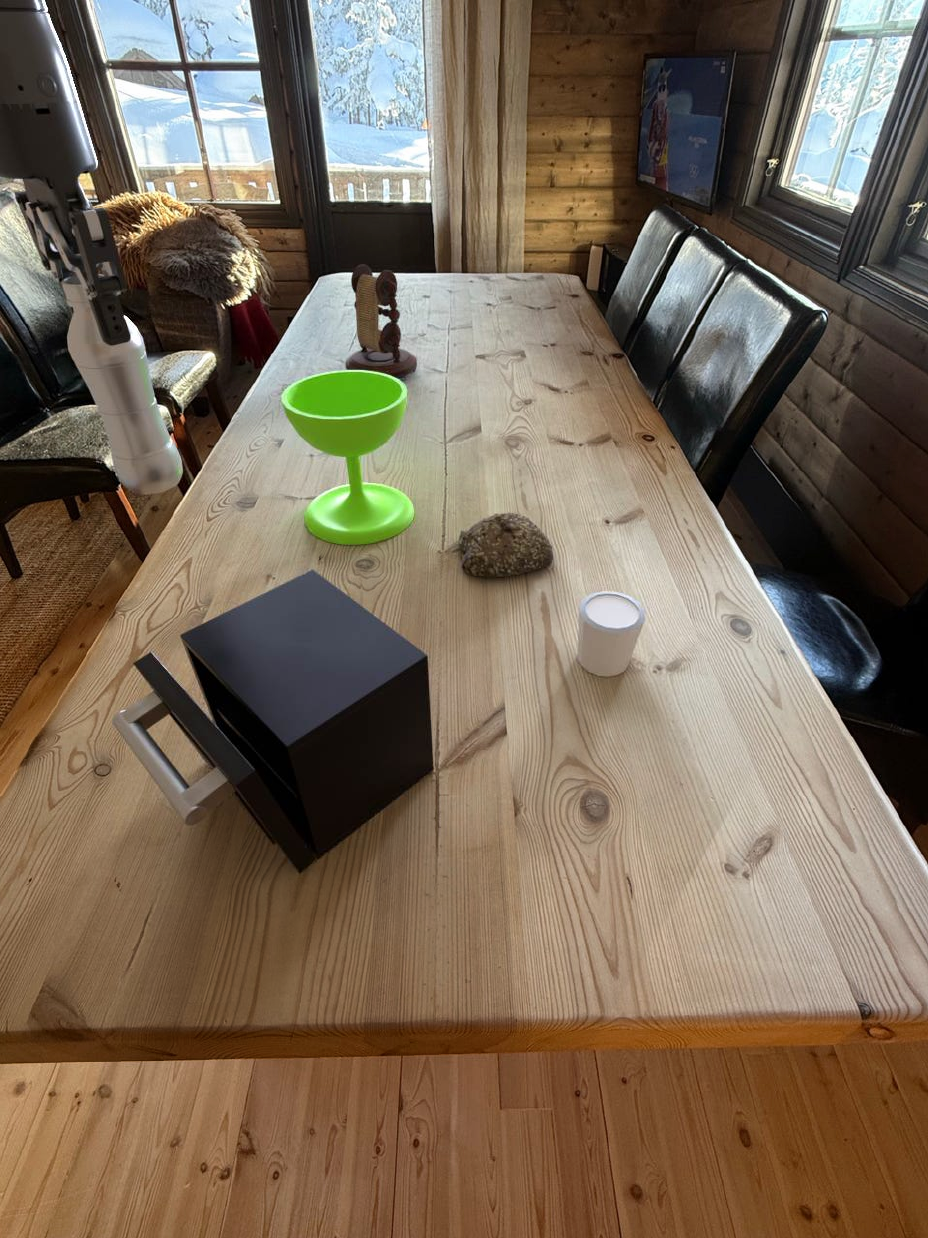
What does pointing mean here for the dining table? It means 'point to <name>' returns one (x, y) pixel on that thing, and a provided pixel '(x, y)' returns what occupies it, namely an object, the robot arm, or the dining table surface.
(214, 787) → the oven door
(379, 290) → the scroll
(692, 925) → the dining table surface
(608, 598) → the white cylindrical container
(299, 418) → the wineglass
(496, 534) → the bread roll
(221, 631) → the oven
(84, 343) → the silver bottle
